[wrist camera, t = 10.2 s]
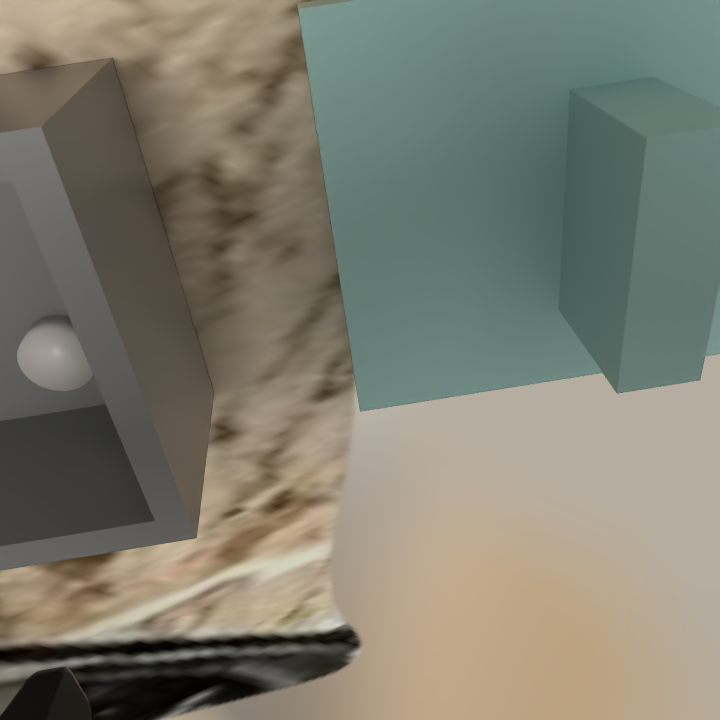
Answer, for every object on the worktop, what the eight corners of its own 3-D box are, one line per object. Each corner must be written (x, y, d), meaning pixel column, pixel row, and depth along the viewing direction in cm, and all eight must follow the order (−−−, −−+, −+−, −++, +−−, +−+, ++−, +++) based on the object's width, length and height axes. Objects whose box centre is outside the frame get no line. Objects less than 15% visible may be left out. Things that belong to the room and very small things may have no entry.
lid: (772, 307, 23) (912, 421, 18) (353, 373, 22) (376, 508, 17) (873, -88, 16) (1131, -84, 11) (296, -2, 16) (305, 40, 11)
